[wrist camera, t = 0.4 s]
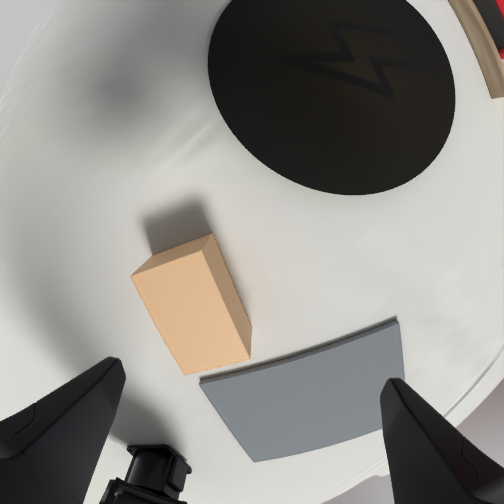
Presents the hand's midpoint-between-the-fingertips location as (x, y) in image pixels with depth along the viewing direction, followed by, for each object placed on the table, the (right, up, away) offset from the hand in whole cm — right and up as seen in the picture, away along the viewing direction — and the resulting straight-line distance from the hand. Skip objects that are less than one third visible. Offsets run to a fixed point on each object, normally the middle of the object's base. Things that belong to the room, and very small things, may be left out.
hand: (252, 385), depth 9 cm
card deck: (-4, +1, +14) cm, 14 cm away
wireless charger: (+6, +17, +9) cm, 20 cm away
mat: (+6, -11, +17) cm, 21 cm away
